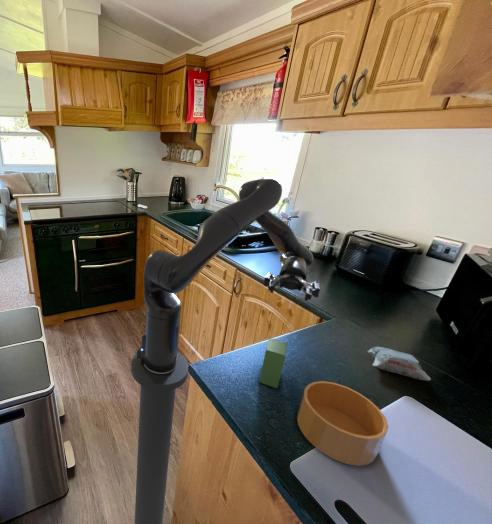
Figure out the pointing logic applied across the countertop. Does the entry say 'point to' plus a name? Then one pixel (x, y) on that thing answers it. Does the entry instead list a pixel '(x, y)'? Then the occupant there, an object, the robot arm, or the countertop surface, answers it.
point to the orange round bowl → (341, 423)
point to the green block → (273, 362)
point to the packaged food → (397, 363)
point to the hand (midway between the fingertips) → (289, 293)
